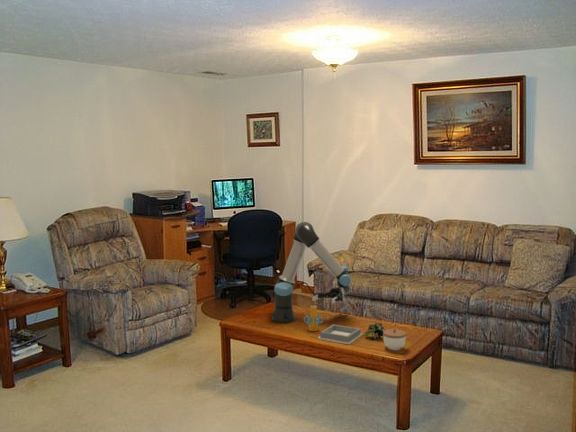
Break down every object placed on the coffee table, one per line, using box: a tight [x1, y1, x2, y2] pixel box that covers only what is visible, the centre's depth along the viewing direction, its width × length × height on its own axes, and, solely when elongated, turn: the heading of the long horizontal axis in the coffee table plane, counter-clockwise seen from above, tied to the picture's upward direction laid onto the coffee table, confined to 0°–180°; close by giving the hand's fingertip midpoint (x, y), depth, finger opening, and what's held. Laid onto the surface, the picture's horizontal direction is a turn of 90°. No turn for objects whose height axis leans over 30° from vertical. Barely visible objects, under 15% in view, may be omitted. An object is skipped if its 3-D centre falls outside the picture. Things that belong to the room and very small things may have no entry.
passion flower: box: [363, 322, 386, 340], centre depth 337 cm, size 11×11×12 cm
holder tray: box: [317, 324, 364, 345], centre depth 340 cm, size 20×20×4 cm
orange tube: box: [303, 305, 324, 332], centre depth 352 cm, size 12×10×15 cm
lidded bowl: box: [382, 328, 407, 351], centre depth 320 cm, size 13×13×11 cm
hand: (322, 300), depth 360 cm, fingers open, 13 cm apart
